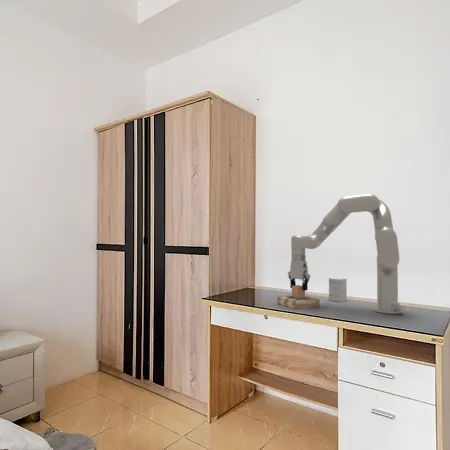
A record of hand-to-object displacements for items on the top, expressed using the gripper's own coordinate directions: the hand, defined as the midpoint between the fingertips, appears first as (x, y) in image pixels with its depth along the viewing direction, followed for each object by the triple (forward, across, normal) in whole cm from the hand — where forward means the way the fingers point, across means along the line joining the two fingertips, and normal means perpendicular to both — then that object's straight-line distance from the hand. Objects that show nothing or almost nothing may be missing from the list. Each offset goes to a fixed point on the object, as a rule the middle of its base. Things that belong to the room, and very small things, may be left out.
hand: (298, 289), depth 198 cm
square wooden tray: (+9, 0, 0) cm, 9 cm away
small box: (+9, -1, -29) cm, 30 cm away
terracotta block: (+4, 0, 0) cm, 4 cm away
